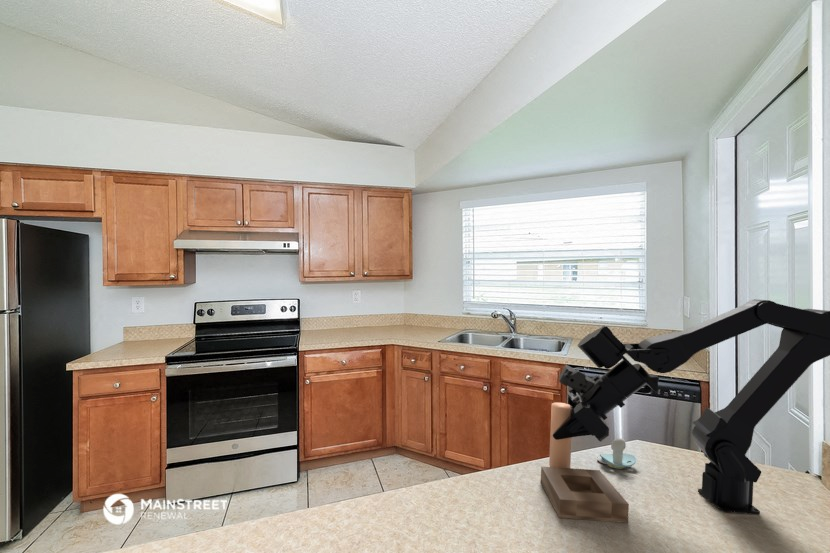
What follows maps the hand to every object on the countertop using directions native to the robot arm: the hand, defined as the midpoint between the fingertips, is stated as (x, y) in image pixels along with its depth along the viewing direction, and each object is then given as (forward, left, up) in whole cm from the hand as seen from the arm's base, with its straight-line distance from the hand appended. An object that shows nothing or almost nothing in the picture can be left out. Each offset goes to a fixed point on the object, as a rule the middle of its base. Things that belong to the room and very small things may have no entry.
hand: (553, 433), depth 79 cm
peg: (-1, 0, -7) cm, 7 cm away
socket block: (-2, +10, -8) cm, 13 cm away
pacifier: (-15, -5, -8) cm, 18 cm away
